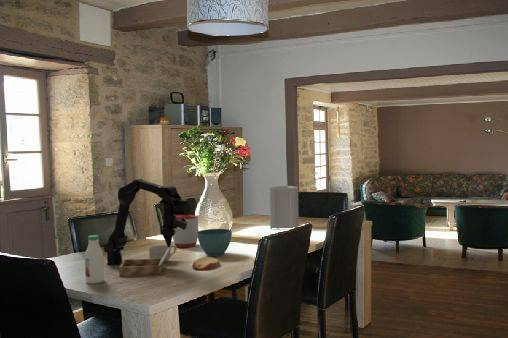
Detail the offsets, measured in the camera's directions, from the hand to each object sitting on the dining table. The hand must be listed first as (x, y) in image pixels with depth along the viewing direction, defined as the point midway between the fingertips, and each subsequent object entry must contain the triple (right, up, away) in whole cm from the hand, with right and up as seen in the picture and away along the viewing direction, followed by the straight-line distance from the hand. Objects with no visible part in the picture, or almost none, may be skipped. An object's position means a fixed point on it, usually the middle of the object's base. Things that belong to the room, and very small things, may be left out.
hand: (169, 247), depth 251 cm
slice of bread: (+16, -11, +9) cm, 21 cm away
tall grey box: (+62, -4, +115) cm, 131 cm away
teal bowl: (+19, -9, +33) cm, 39 cm away
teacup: (-6, -10, +19) cm, 22 cm away
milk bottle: (-29, -13, -18) cm, 36 cm away
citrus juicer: (0, -8, +58) cm, 58 cm away
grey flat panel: (-1, -3, 0) cm, 3 cm away
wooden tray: (-12, -11, 0) cm, 17 cm away
